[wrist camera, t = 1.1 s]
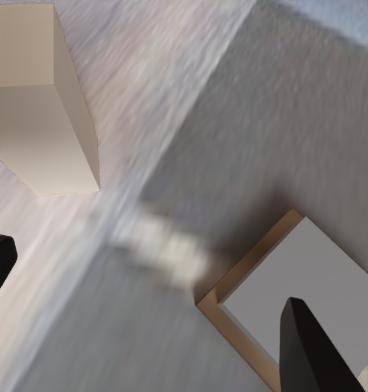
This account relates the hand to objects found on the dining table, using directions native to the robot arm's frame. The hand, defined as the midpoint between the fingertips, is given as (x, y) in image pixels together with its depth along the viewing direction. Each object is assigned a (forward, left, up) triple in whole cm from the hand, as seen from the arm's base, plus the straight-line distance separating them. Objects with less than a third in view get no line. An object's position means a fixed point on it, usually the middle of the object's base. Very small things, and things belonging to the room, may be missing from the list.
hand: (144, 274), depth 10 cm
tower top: (+10, -4, -13) cm, 17 cm away
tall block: (-4, +12, -15) cm, 19 cm away
